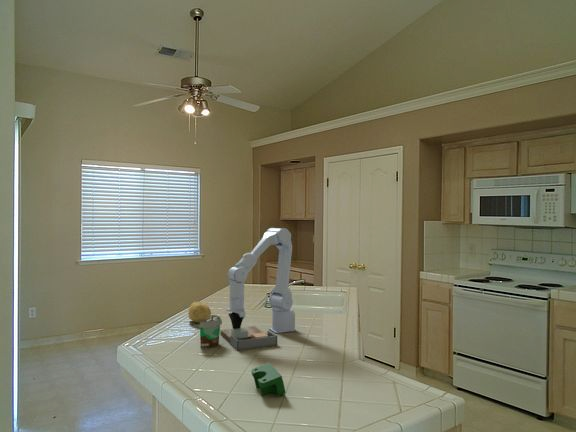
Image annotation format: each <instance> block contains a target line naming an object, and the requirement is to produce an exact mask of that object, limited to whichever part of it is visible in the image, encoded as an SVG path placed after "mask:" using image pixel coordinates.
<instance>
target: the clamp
mask: <svg viewBox="0 0 576 432" xmlns="http://www.w3.org/2000/svg"><path fill="white" fill-rule="evenodd" d="M250 372H251V375H252V377H253V380H254V384H255V388H256V389H259V391H260V395H261V396H262V395H263V396H265V395H268V394H270V393H273V392H274V394H275V395H276V396H277V397H281V396H283V395H285V394H286V389H285V384H284V383H285V382H284V380H283V376H282V374H281V373H280V372H279V371H278V369H276V368H275V367H274V366H273V365H272V364H271V363H270V362H266V363H263V364H261V365H259V366H256V367H253V368H252V369H251V370H250Z"/></svg>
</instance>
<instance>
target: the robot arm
mask: <svg viewBox="0 0 576 432" xmlns="http://www.w3.org/2000/svg"><path fill="white" fill-rule="evenodd" d="M291 239H292V233H291V232H290V230H289V229H287V228H284V227H282V228H281V227H279V228H277V227H270V228H268V229H267V230H266V231H265V232H264V233H263V236H262V238H260V241H259V242H258V243H257V245H255V247H254V248H253V249H252V250H251V251H250V252H246V253H244V254H243V255H242V258H241V259H239V261H238V262H236V263H235V264H234V266H233V267H232V266H231V268H229V270H228V272H227V274H226V278H227V279H228V281H229V283H228V284H229V304H228V308H226V311H227V312H230V313H228V317H229V318H230V322H231V327H232V329H237V328H242V327H241V326H242V323H243V320H244V319H245V318H246V311H245V281H246V280H247V278H248V274H249V273H250V271H251V270H253V267H254V266H256V265H257V263H258V258H259V257H260V256H261V255H262V254H263V253H264V252H265V251H266V250H267V249H268V248H269V247H270V246H274V245H275V247H276V248H277V249H278V251H279V252H278V261H277V269H276V278H275V279H276V282H275V286H274V287H273V288H272V289H271V293H270V296H269V299H268V303H269V306H271V311H272V312H271V313H272V314H271V316H272V318H271V327H268V330H269V331H270V332H272V333H274V334H282V333H288V332H296V313H295V311H294V309H293V308H292V307H293V303H294V301H293V292H292V291H291V290H290V288H289V284H290V283H289V282H290V275H291V274H290V273H291V267H292V266H291V265H292V264H291V263H292V255H293V244H292V243H293V242H292V240H291Z"/></svg>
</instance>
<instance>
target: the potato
mask: <svg viewBox="0 0 576 432" xmlns="http://www.w3.org/2000/svg"><path fill="white" fill-rule="evenodd" d="M211 315H212V311H211V308H210V307H209V306H208V305H207V304H206V303H204V302H202V301H194V302H192V303H191V304H190V306H189V307H188V319H189V320H191V321H192V322H193V323H198V324H200V322H204V321H205V320H206V319H209V318H211Z"/></svg>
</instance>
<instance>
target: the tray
mask: <svg viewBox="0 0 576 432" xmlns="http://www.w3.org/2000/svg"><path fill="white" fill-rule="evenodd" d="M266 334H267V335H268V337H262V338H254V339H246V340H237V339H236V338H235V337H233V336H232V335H230V343H229V345H230V346H232V348H233V349H235V350H236V351H244V350H245V351H246V350H252V349H259V348H265V347H266V348H267V347H275V346H276V347H277V346H278V335H277V334H276V333H274V332H273V331H271V330H267V332H266Z"/></svg>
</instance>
